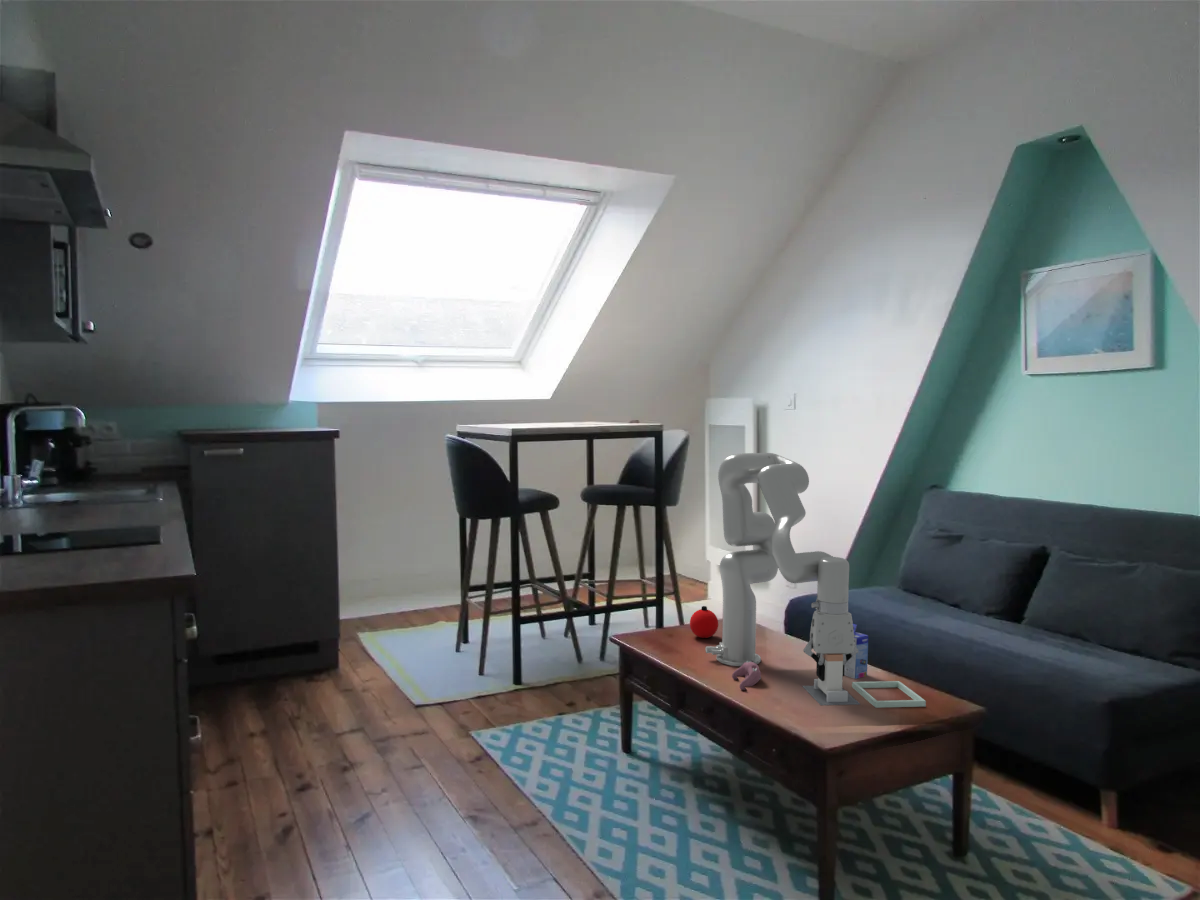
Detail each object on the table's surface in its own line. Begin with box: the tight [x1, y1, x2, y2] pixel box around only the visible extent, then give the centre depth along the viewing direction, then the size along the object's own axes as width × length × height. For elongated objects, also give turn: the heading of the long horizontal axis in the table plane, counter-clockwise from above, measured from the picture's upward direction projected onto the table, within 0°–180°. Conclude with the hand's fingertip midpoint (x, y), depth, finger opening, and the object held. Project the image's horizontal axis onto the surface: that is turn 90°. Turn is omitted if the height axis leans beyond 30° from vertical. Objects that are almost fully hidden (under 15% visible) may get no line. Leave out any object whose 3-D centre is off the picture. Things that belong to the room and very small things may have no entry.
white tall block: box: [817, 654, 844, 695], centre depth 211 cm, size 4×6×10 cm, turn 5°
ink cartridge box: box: [844, 623, 869, 680], centre depth 229 cm, size 10×6×14 cm, turn 36°
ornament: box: [689, 605, 719, 639], centre depth 266 cm, size 9×9×10 cm
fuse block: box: [801, 678, 861, 706], centre depth 211 cm, size 10×14×4 cm
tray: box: [851, 680, 927, 708], centre depth 211 cm, size 13×15×2 cm
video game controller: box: [731, 661, 762, 691], centre depth 222 cm, size 10×5×7 cm, turn 4°
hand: (830, 678), depth 211 cm, fingers closed on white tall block, 4 cm apart
